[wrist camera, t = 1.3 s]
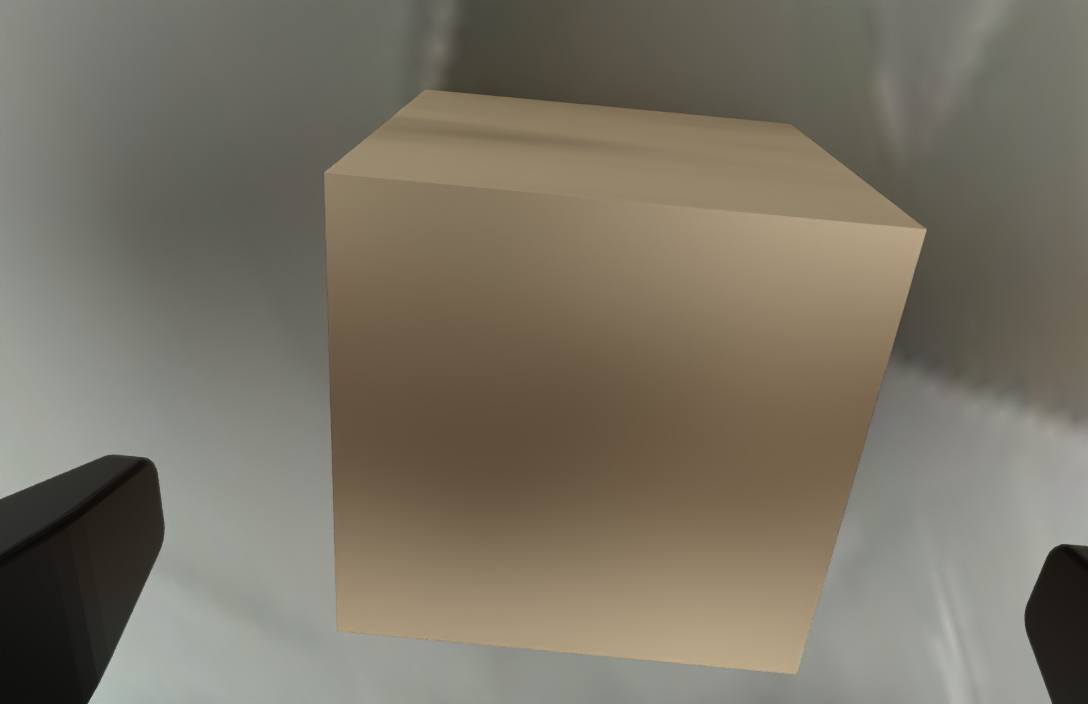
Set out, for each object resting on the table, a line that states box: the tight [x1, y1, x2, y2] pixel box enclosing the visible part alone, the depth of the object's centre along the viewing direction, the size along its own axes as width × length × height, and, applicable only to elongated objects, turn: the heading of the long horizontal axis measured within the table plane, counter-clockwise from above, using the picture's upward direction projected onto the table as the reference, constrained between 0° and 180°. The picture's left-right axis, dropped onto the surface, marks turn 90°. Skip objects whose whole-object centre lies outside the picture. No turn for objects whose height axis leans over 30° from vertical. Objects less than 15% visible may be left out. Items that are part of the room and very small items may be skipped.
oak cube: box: [324, 89, 927, 674], centre depth 12 cm, size 6×6×6 cm
